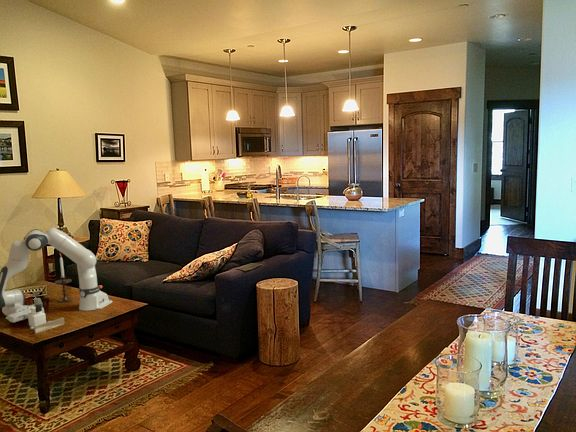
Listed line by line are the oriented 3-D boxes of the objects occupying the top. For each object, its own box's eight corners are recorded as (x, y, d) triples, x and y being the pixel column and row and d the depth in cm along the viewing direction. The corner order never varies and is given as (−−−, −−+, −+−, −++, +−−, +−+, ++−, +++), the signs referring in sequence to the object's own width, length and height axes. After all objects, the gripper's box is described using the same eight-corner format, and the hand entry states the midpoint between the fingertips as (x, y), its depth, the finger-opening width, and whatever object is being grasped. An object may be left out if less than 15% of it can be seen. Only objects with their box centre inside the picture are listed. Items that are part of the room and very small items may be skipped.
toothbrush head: (33, 294, 346) (42, 296, 327) (34, 303, 346) (44, 306, 327) (25, 295, 342) (34, 298, 323) (26, 304, 343) (35, 308, 324)
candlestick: (53, 302, 337) (48, 253, 332) (64, 297, 347) (59, 250, 342) (65, 303, 334) (61, 254, 329) (76, 298, 344) (72, 250, 339)
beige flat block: (25, 330, 283) (24, 324, 282) (53, 321, 298) (53, 314, 298) (36, 333, 277) (35, 327, 277) (64, 324, 292) (63, 317, 292)
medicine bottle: (40, 322, 297) (38, 303, 295) (46, 324, 293) (44, 305, 291) (28, 325, 291) (26, 306, 290) (34, 328, 287) (32, 308, 285)
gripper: (3, 313, 291) (15, 316, 284) (36, 303, 308) (48, 306, 301) (4, 322, 292) (17, 326, 285) (37, 312, 309) (49, 316, 302)
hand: (33, 316), depth 293 cm, fingers closed
